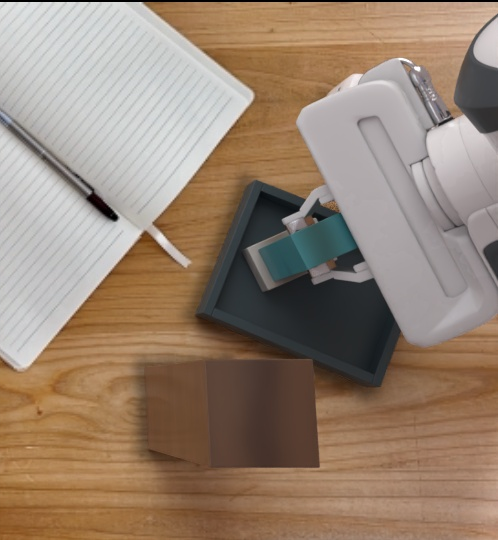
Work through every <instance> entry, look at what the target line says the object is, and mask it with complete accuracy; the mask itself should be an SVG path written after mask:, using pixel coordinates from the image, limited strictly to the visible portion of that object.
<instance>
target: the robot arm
mask: <svg viewBox="0 0 498 540" xmlns="http://www.w3.org/2000/svg"><path fill="white" fill-rule="evenodd" d="M406 66H408V67H409V68H410V70H409V71H408V69H407V67H406ZM362 74H363V76H362V77H361V78H360V80H359V82H358V85H356V86H353V87H350V88H347V89H345V90H342V91H339V92H337V93H334V94H332V95H329V96H327V95H326V96H327V97H326V96H325V97H322V98H320V99H318V100H316V101H314V102H312V103H310V104H308V105H306V106H304V107H302V109H301V110H300V112H299V114H298V116H297V118H296V121H295V126H296V128H297V130H298V131H299V134H300V136H301V138H302V139H303V141H304V143H305V146H306V147H307V149H308V151H309V154H310V155H311V157H312V159H313V161H314V164H315V165H316V167H317V169H318V172H319V173H320V175H321V177H322V179H323V180H324V184H321V185H320V186H318V187H316V188H313V189H312V190H311V192H310V194H309V195H308V196H307V198H305V199H306V201H305V202H304V204H303V205H302V207H301V208H300V211H299V212H297V213H294V214H292V215H290V216H288V217H286V218H283V219H282V222H283V224H284V226H285V228H286V230H287V232H288V233H289V235H291V234H293V233H295V232H297V231H300V230H302V229H304V228H306V227H309V226H311V225H313V224H315V222H314V220H313V218H312V214H313V213H314V212H315V210H316V209H317V208H318V206H319V205H326V204H329V203H331V202H335V204H336V207H337V208H338V210H339V213H340V212H341V214H342V216H343V218H344V220H345V222H346V224H347V226H348V228H349V230H350V232H351V234H352V236H353V238H354V240H355V242H356V244H357V246H358V248H359V250H360V252H361V253H362V255H363V257H364V259H365V260H364V261H362V262H360V263H358V264H356V265H354V267H353V268H351V267H342V266H337V265H336V263H335V261H334V259H332V260H329V261H327V262H325V263H323V264H320V265H318V266H316V267H314V268H311V269H309V270H307V272H308V274H309V276H310V278H311V280H312V282H313V284H314V285H315V284H318V283H321V282H323V281H326V280H328V279H331V278H334V279H338V280H345V281H352V282H359V283H361V282H363V281H366V280H369V279H372V278H374V279H375V281H376V283H377V285H378V287H379V289H380V291H381V293H382V295H383V297H384V299H385V301H386V302H387V304H388V306H389V308H390V310H391V312H392V314H393V316H394V318H395V320H396V322H397V324H398V326H399V328H400V330H401V333H402V336H403V338H404V340H405V341H406V342H407V343H408V344H410V345H412V346H416V347H420V348H425V349H426V348H430V347H434V346H437V345H440V344H443V343H446V342H448V341H451V340H453V339H456V338H458V337H461V336H462V335H465V334H467V333H469V332H471V331H474V330H476V329H477V328H480V327H481V326H483V325H485V324H487V323H489V322H490V321H492V320H493V319H494V318H495V317H496V316H497V315H498V13H496V14H495V15H493V16H492V17H491V18H490V19H489V20H488V21H486V23H485V24H484V25H483V26H482V27H481V28H480V29H479V31H477V33H476V34H475V35H474V37H473V38H472V40H471V42H470V44H469V47H468V49H467V51H466V53H465V55H464V58H463V60H462V63H461V65H460V69H459V72H458V76H457V78H456V83H455V88H454V94H453V102H454V104H455V105H456V107H457V108H458V109H459V110H460V112H461V113H462V114H460V115H459V116H457V117H454V116H452V113H451V111H450V110H449V108H448V106H447V104H446V103H445V101H444V99H443V97H442V96H441V95H440V93H439V92H438V91H437V89H436V87H435V86H434V84H433V82H432V77H431V75H430V73H429V71H428V69H426V67H424V65H422V64H421V65H417V64H416V62H414V61H413V60H411V59H409V58H405V57H391V58H387V59H386V60H384V61H381V62H380V63H379V64H376V65H375V66H372V67H371V68H369V69H368V70H366V71H365V72H364V73H362ZM437 125H438V127H436V128H433V127H435V126H437ZM431 128H433V129H431Z"/></svg>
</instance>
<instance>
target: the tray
mask: <svg viewBox="0 0 498 540" xmlns="http://www.w3.org/2000/svg"><path fill="white" fill-rule="evenodd" d="M306 199H307V198H304V197H301V196H299V195H296V194H294V193H291V192H289V191H286V190H284V189H282V188H279V187H276V186H274V185H271V184H268V183H266V182H263V181H261V180H258V179H254V180H252V181H251V182H250V183H248V184H246V186H245V189H244V192H243V194H242V196H241V199H240V201H239V204H238V206H237V209H236V211H235V213H234V215H233V218H232V220H231V223H230V226H229V228H228V231H227V233H226V236H225V239H224V241H223V243H222V246H221V249H220V252H219V254H218V256H217V259H216V262H215V263H214V266H213V269H212V271H211V274H210V276H209V279H208V281H207V284H206V286H205V289H204V291H203V294H202V296H201V298H200V301H199V304H198V306H197V308H196V311H195V313H194V315H195V316H196V317H199V318H201V319H203V320H206V321H208V322H211V323H213V324H215V325H218V326H220V327H222V328H225V329H227V330H229V331H232V332H234V333H237V334H239V335H242V336H244V337H247V338H249V339H251V340H253V341H256V342H258V343H260V344H263V345H266V346H268V347H270V348H273V349H274V350H278V351H279V352H282V353H285V354H287V355H289V356H291V357H294V358H295V359H312V360H313V366H316V367H318V368H319V369H323V370H324V371H327V372H330V373H332V374H335V375H337V376H339V377H341V378H344V379H346V380H349V381H352V383H353V382H354V383H356V384H358V385H361V386H363V387H366V388H381V387H382V384H383V382H384V379H385V376H386V374H387V371H388V368H389V366H390V363H391V360H392V358H393V355H394V352H395V349H396V347H397V344H398V341H399V338H400V336H401V333H402V332H401V330H400V328H399V326H398V324H397V322H396V320H395V318H394V316H393V314H392V312H391V310H390V308H389V306H388V304H387V302H386V301H385V299H384V297H383V295H382V293H381V291H380V289H379V287H378V285H377V283H376V281H375V279H374V278H372V279H369V280H366V281H363V282H361V283H359V282H352V281H345V280H338V279H334V278H331V279H328V280H326V281H323V282H321V283H318V284H315V285H314V284H313V282H312V280H311V278H310V276H309V274H308V273H307V274H305V275H302V276H300V277H298V278H296V279H293V280H291V281H289V282H287V283H284V284H282V285H280V286H278V287H275V288H273V289H271V290H268V291H265V292H262V290H261V288H260V286H259V284H258V282H257V280H256V278H255V276H254V274H253V272H252V271H251V269H250V267H249V265H248V263H247V261H246V259H245V257H244V255H243V253H242V250H244V249H246V248H248V247H250V246H253V245H255V244H257V243H259V242H262V241H264V240H266V239H268V238H270V237H273V236H275V235H277V234H279V233H282V232H284V231H286V228H285V226H284V224H283V222H282V219H283V218H286V217H288V216H290V215H292V214H294V213H297V212H299V211H300V208H301V207H302V205H303V204H304V202H305V201H306ZM338 213H340V211H336V210H334V209H331V208H329V207H326V206H324V205H322V204H320V205H319V206H318V208H317V209H316V210H315V212H314V213H313V214H312V218H316V219H317V221H318V222H320V221H322V220H324V219H326V218H329V217H331V216H333V215H335V214H338ZM364 260H365V259H364V257H363V255H362V253H361V252H360V250H359V248H356V249H354V250H352V251H349V252H347V253H345V254H343V255H340V256H338V257H337V260H336V261H335V263H336V265H337V266H342V267H351V268H353V267H354V265H356V264H358V263H360V262H362V261H364Z"/></svg>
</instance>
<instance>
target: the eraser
mask: <svg viewBox="0 0 498 540" xmlns="http://www.w3.org/2000/svg"><path fill="white" fill-rule="evenodd" d="M313 220H314V222H315V224H313V225H311V226H309V227H306V228H304V229H302V230H300V231H297V232H295V233H293V234H291V235H289V233H288V232H287V230H286V231H284V232H282V233H279V234H277V235H275V236H273V237H270V238H268V239H266V240H264V241H262V242H259V243H257V244H255V245H253V246H250V247H248V248H246V249H244V250H242V253H243V255H244V257H245V259H246V261H247V263H248V265H249V267H250V269H251V271H252V272H253V274H254V276H255V278H256V280H257V282H258V284H259V286H260V288H261V290H262V292H265V291H268V290H271V289H273V288H275V287H278V286H280V285H282V284H284V283H287V282H289V281H291V280H293V279H296V278H298V277H300V276H302V275H305V274H307V273H308V272H307V270H309V269H311V268H314V267H316V266H318V265H320V264H323V263H325V262H327V261H329V260H332V259H334V261H336V260H337V257H338V256H340V255H343V254H345V253H347V252H349V251H352V250H354V249H356V248H358V246H357V244H356V242H355V240H354V238H353V236H352V234H351V232H350V230H349V228H348V226H347V224H346V222H345V220H344V218H343V216H342V214H341V212H340V211H339V213H338V214H335V215H333V216H331V217H329V218H326V219H324V220H322V221H320V222H318V221H317V219H316V218H313Z"/></svg>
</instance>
